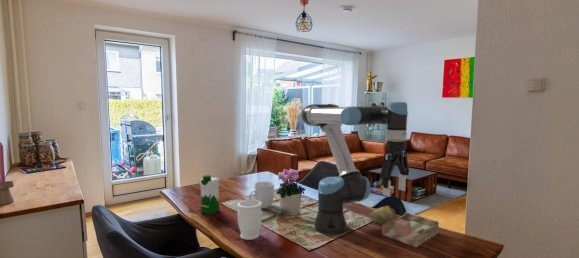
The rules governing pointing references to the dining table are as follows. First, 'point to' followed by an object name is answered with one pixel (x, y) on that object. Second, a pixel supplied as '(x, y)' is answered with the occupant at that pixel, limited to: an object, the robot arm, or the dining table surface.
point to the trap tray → (412, 229)
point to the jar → (249, 218)
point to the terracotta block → (402, 227)
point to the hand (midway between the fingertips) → (394, 192)
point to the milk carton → (209, 195)
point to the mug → (264, 193)
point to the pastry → (383, 215)
